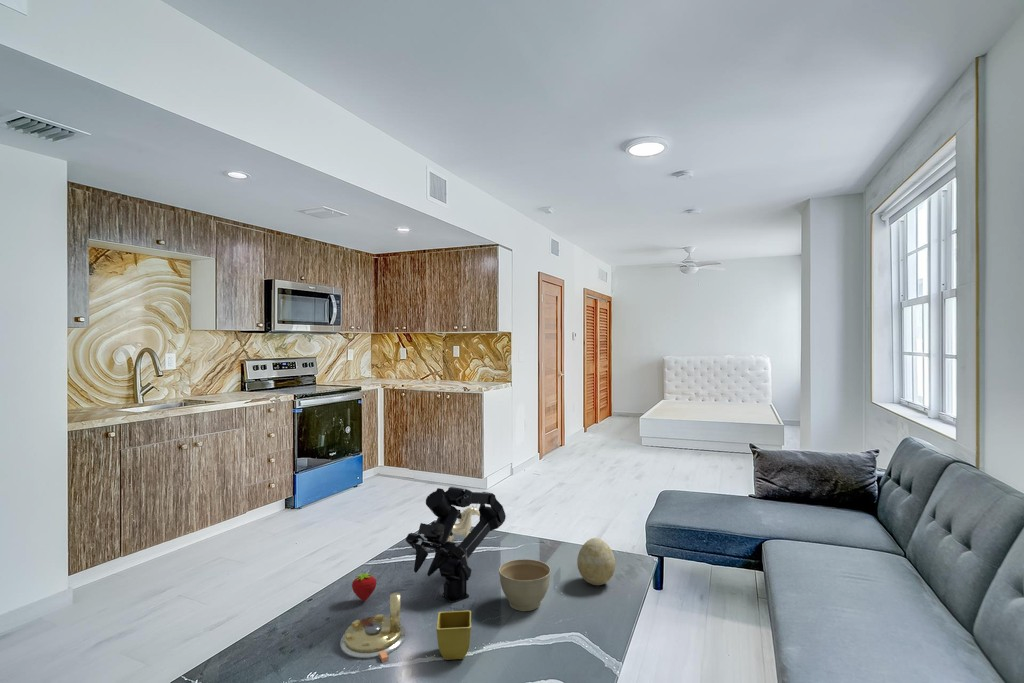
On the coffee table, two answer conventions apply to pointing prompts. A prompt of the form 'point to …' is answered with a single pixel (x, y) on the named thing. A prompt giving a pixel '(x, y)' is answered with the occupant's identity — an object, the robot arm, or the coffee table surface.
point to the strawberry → (364, 586)
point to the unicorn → (464, 523)
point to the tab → (383, 656)
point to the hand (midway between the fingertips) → (421, 573)
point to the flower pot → (454, 634)
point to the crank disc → (380, 641)
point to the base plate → (373, 629)
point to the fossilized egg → (596, 562)
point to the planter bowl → (524, 583)
